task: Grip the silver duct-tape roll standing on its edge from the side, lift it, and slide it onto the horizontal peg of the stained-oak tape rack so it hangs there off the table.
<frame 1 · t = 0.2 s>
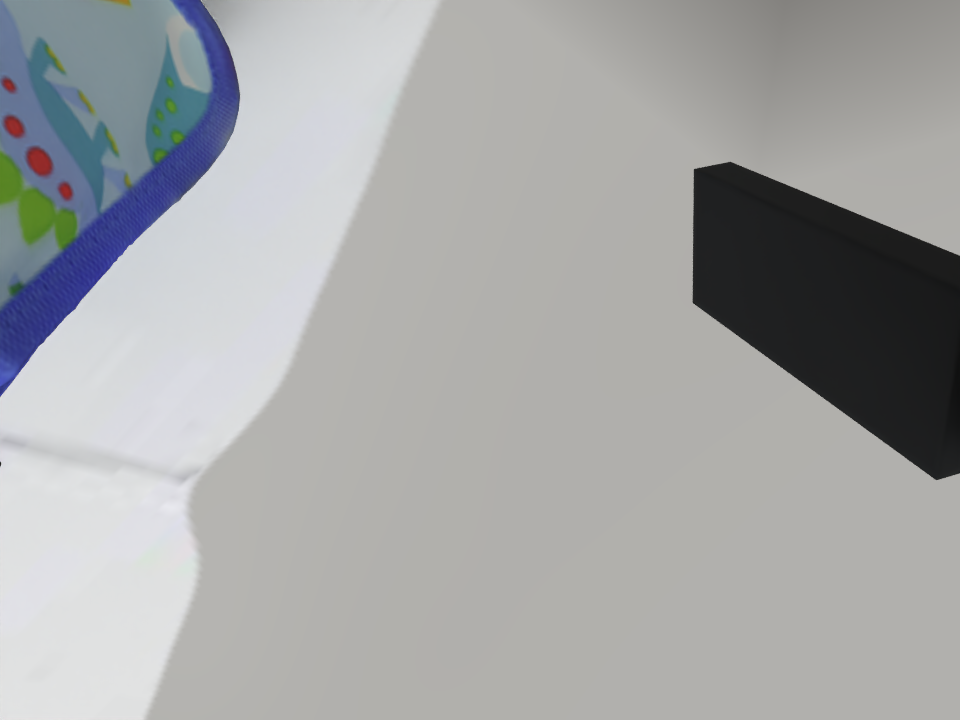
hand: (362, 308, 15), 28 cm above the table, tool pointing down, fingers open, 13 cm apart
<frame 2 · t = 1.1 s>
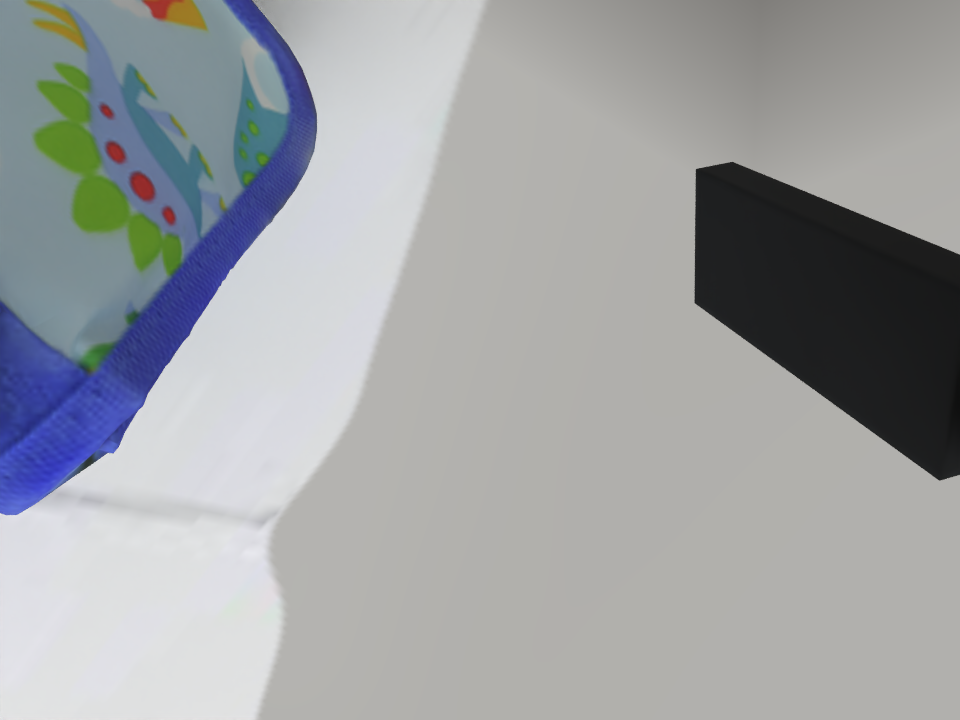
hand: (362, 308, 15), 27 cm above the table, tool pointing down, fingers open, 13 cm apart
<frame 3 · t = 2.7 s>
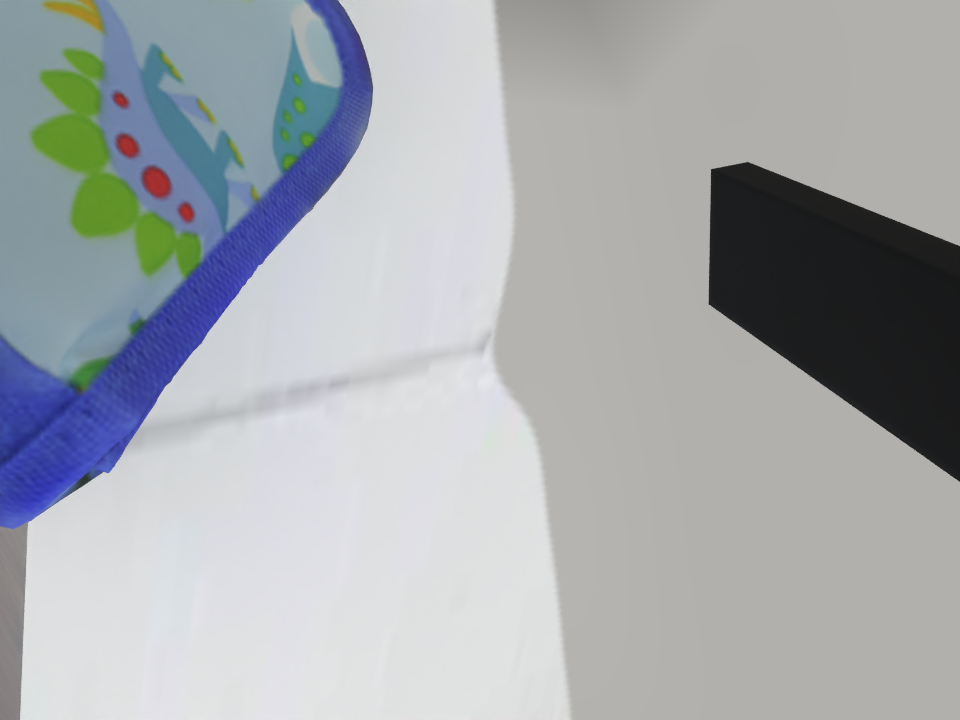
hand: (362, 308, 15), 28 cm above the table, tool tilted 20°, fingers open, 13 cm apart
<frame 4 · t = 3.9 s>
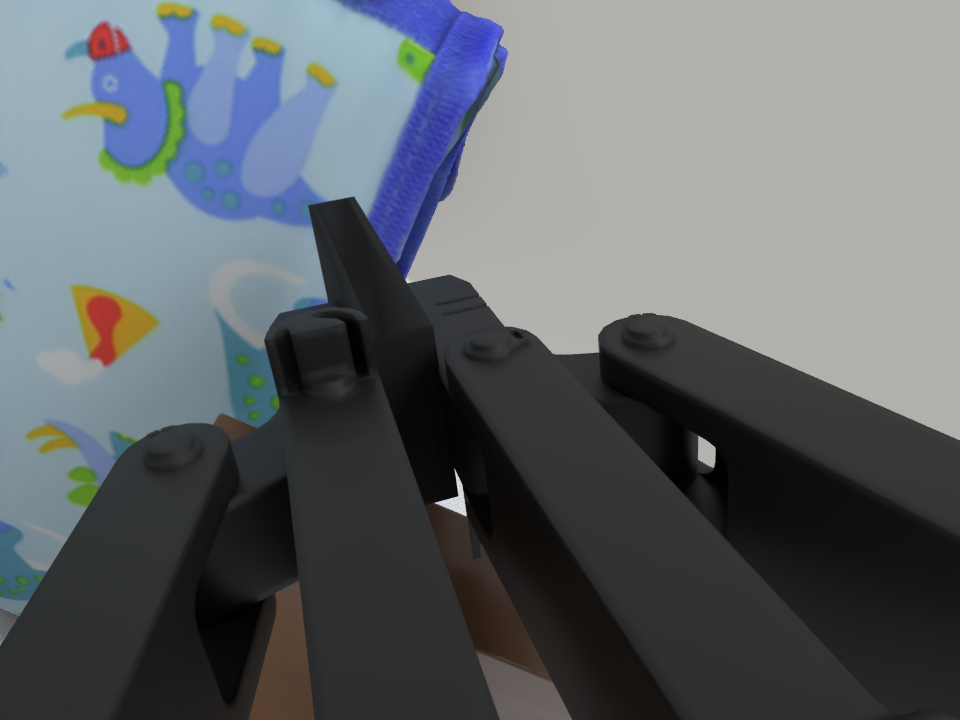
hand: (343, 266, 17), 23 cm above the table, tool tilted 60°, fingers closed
lunch bag: (54, 446, 37), on the table
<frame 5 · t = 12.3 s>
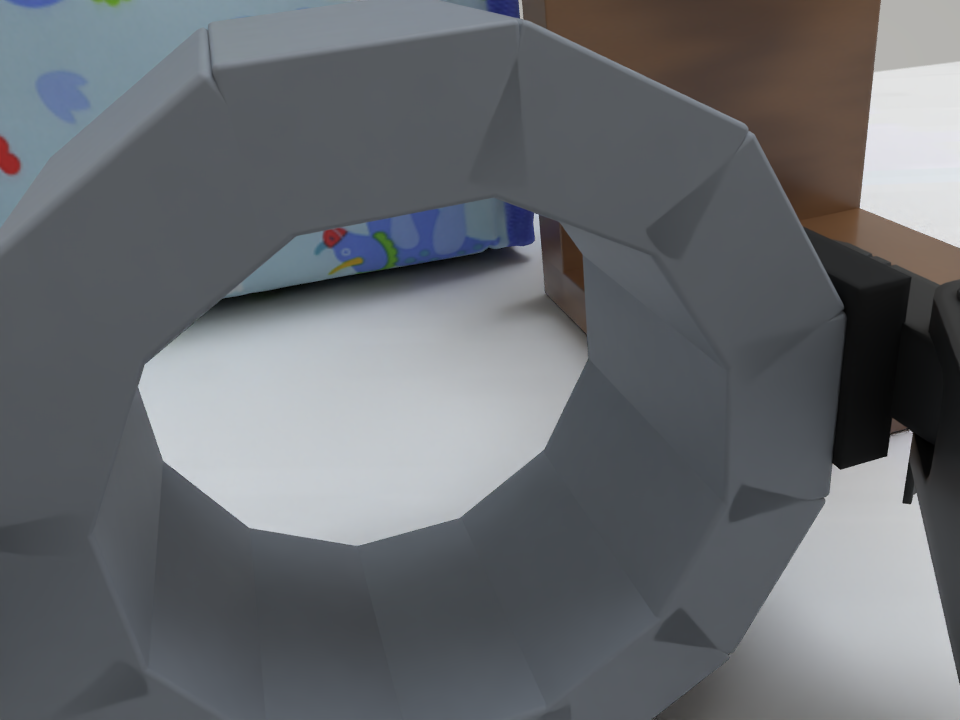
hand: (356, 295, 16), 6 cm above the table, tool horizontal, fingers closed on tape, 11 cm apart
lunch bag: (258, 254, 37), on the table
rack: (701, 270, 30), on the table
tape: (452, 687, 15), on the table, touching gripper
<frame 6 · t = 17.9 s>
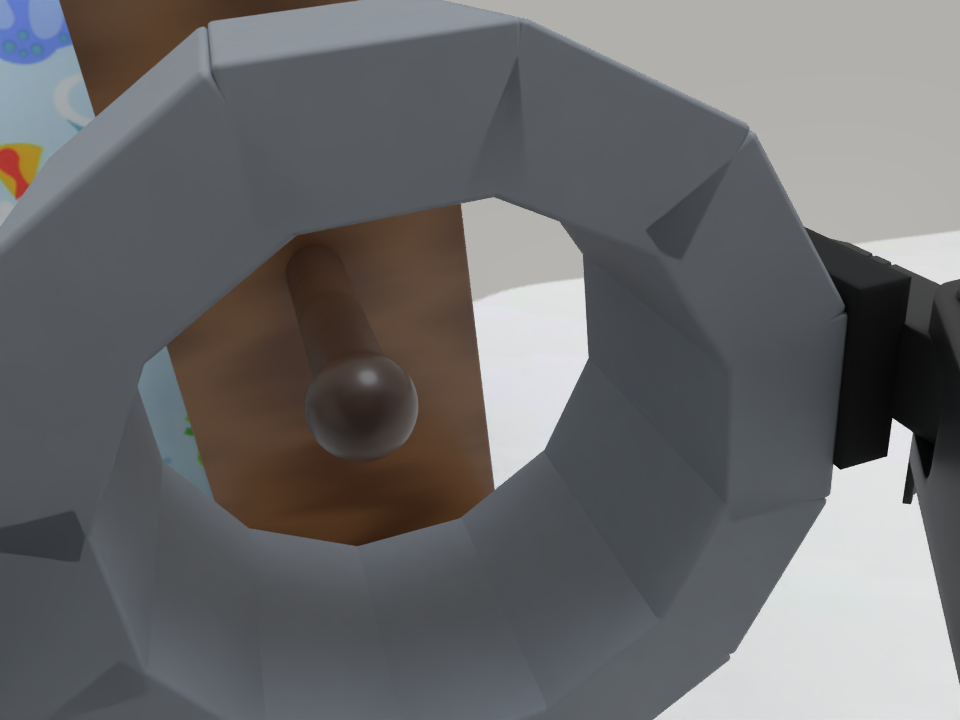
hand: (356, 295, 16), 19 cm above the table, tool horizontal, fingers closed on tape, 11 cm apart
lunch bag: (56, 499, 44), on the table
rack: (374, 561, 37), on the table
tape: (452, 687, 15), point 13 cm above the table, touching gripper
when the fingers open (12 cm above the table, at t = 23.5 s): tape stays where it is, resting on rack.
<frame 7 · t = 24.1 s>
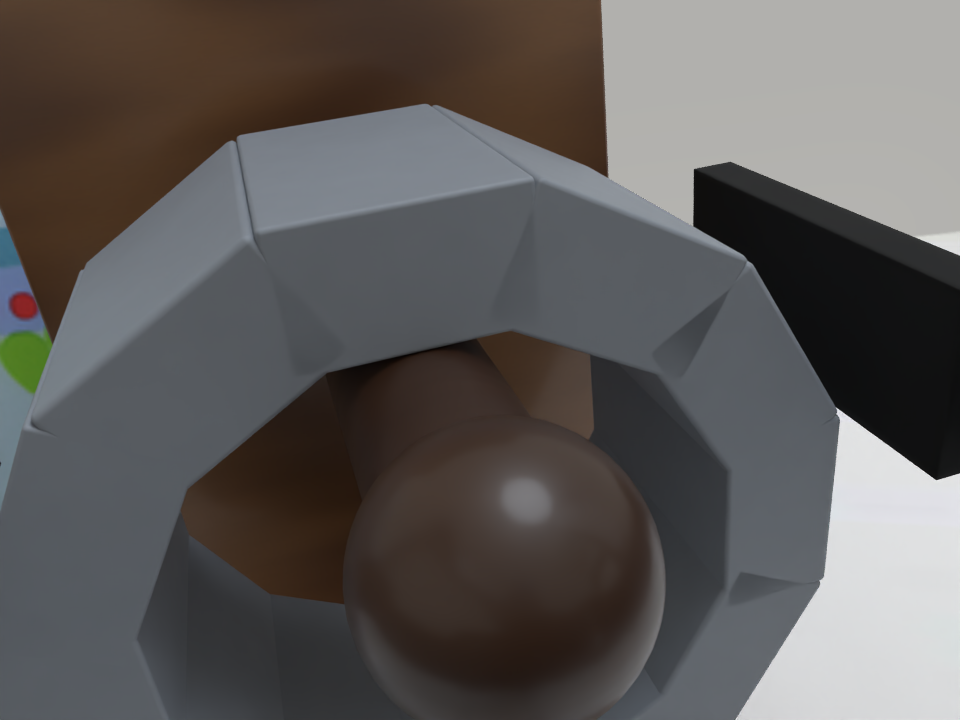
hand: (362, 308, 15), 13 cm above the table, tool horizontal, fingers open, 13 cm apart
rack: (431, 709, 23), on the table
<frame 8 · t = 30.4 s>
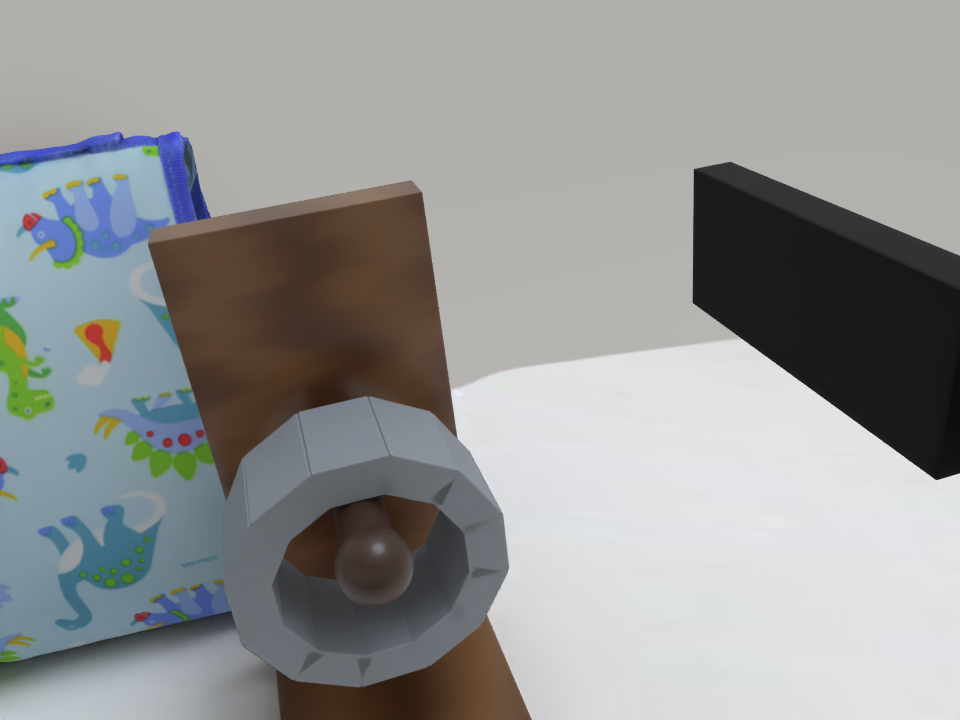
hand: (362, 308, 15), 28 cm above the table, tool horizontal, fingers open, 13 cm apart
lunch bag: (115, 576, 53), on the table
rack: (381, 637, 46), on the table
tape: (384, 638, 38), point 6 cm above the table, touching rack
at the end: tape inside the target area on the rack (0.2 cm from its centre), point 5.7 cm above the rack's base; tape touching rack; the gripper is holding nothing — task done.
